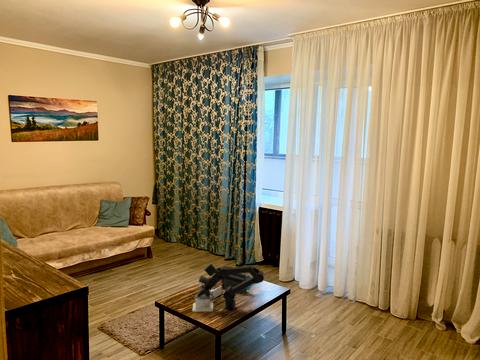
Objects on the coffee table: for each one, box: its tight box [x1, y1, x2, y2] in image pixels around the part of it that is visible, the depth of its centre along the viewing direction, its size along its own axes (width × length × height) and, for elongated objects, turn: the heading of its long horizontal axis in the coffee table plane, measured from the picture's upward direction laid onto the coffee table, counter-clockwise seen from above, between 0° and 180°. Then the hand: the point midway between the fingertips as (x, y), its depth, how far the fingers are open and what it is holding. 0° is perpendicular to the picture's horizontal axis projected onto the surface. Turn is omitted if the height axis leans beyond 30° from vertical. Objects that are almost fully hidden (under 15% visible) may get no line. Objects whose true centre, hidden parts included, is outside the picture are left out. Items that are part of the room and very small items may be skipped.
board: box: [192, 302, 214, 313], centre depth 250 cm, size 14×11×1 cm
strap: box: [194, 294, 211, 299], centre depth 249 cm, size 10×3×1 cm, turn 94°
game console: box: [220, 273, 252, 296], centre depth 278 cm, size 28×6×15 cm, turn 57°
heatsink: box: [194, 297, 211, 309], centre depth 249 cm, size 11×8×7 cm
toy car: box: [197, 281, 224, 301], centre depth 271 cm, size 18×10×12 cm
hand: (197, 295), depth 249 cm, fingers closed, pressing on strap
